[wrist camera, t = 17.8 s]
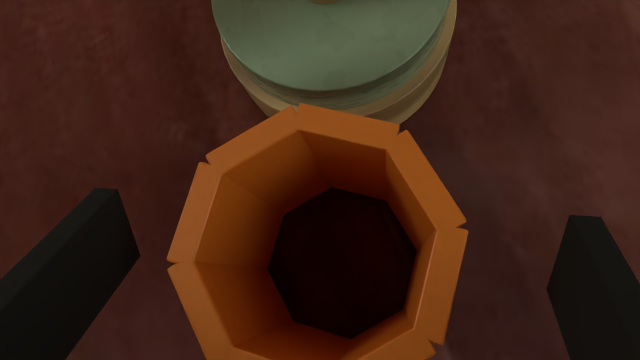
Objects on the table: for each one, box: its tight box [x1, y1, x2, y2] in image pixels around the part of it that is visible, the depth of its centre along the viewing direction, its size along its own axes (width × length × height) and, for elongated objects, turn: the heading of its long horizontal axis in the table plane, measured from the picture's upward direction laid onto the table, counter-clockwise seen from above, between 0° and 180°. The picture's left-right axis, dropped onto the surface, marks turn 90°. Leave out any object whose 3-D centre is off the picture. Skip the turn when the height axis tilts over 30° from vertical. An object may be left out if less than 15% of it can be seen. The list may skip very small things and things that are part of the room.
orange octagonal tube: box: [167, 103, 468, 360], centre depth 16 cm, size 8×8×8 cm
